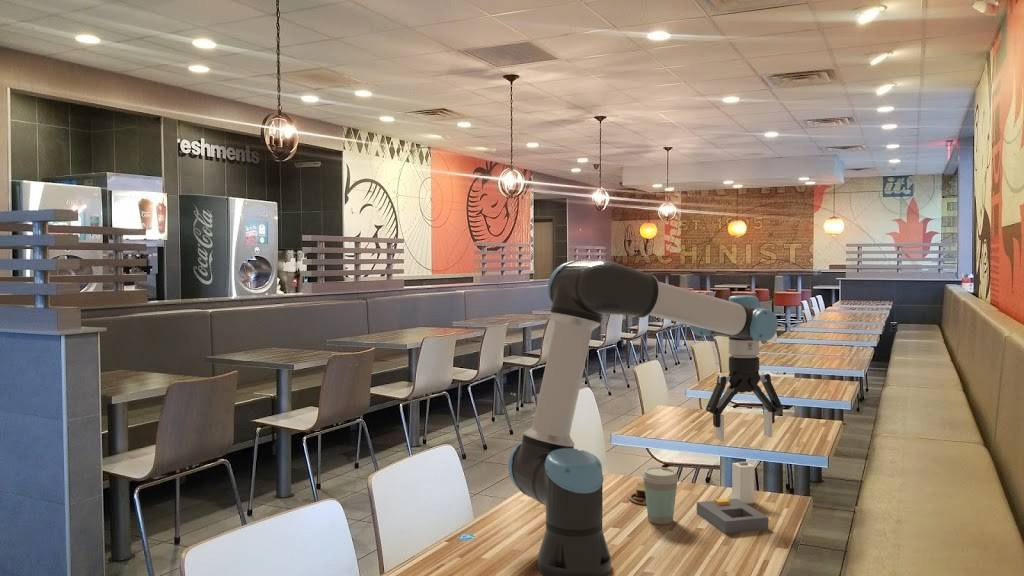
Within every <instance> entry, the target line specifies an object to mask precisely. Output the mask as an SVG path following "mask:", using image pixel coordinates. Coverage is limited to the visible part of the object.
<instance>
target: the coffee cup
mask: <svg viewBox="0 0 1024 576" xmlns="http://www.w3.org/2000/svg"><path fill="white" fill-rule="evenodd" d="M642 481H643V482H644V487H645V496H646V504H647V505H646V511H647V520H648V522H650V523H652V524H653V525H654V524H655V525H670V524H672V523H673V520H674V513H675V504H676V496H677V495H676V494H677V488H678V482H679V481H680V479H679V476H678V473H677V471H676V470H675V469H673V468H668V467H663V466H656V467H655V466H652V467H648V468H645V470H644V473H643V474H642Z"/></svg>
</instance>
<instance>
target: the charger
mask: <svg viewBox="0 0 1024 576" xmlns="http://www.w3.org/2000/svg"><path fill="white" fill-rule="evenodd" d="M731 465H732V467H731V471H732V472H731V475H732V477H731V481H732V482H731V499H739V500H740V501H742V502H744V503H745V504H747V505H749V504H755V470H756V469H755V465H754V464H751V463H750V462H747V461H739V462H732V463H731Z"/></svg>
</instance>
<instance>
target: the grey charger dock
mask: <svg viewBox="0 0 1024 576" xmlns="http://www.w3.org/2000/svg"><path fill="white" fill-rule="evenodd" d="M696 514H697V515H698V516H700V517H701V518H702V519H704V520H705V521H707V522H708V523H709V524H711V525H712V526H713V527H715V528H716V529H718V530H719V531H720V532H721V533H723V534H724V535H729V534H730V535H731V534H738V533H746V532H754V531H755V532H756V531H764V530H769V517H768V516H767V515H766V514H763V513H762V512H760V511H758V510H757V509H755V508H754V507H752V506H750V505H749V504H745V503H744V502H742V501H740V500H739V499H732V498H730V499H727V498H718V499H714V500H707V501H696Z"/></svg>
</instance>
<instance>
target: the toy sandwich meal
mask: <svg viewBox="0 0 1024 576" xmlns="http://www.w3.org/2000/svg"><path fill="white" fill-rule="evenodd" d="M635 491H636V492H634V493H632V494H630V495H629V496H628V498H629V500H630V501H631V502H632V503H634V504H637V505H641V506H647V504H646V496H645V487H644V481H640V482H637V487H636V490H635Z"/></svg>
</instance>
